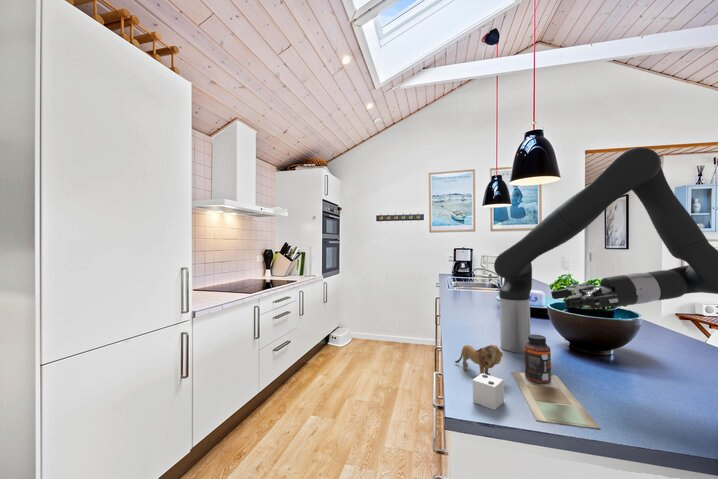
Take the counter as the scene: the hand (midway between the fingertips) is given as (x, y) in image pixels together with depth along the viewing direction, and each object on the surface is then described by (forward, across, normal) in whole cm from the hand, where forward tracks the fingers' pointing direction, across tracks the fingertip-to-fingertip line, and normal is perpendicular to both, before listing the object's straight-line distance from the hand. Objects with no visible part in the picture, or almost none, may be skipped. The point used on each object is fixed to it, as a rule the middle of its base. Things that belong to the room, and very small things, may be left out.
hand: (558, 299), depth 80 cm
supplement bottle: (+10, +4, +19) cm, 22 cm away
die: (+24, +18, +16) cm, 34 cm away
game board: (+10, +12, +19) cm, 24 cm away
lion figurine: (+24, +2, +17) cm, 29 cm away
